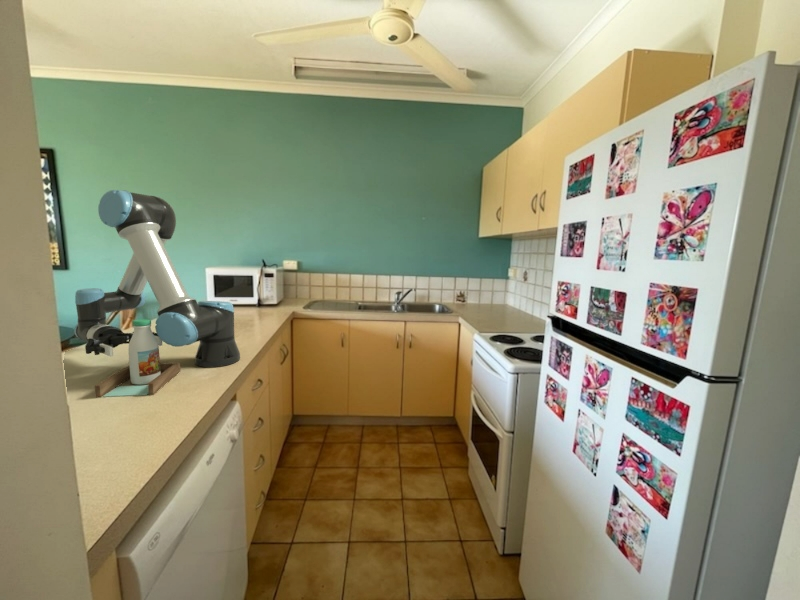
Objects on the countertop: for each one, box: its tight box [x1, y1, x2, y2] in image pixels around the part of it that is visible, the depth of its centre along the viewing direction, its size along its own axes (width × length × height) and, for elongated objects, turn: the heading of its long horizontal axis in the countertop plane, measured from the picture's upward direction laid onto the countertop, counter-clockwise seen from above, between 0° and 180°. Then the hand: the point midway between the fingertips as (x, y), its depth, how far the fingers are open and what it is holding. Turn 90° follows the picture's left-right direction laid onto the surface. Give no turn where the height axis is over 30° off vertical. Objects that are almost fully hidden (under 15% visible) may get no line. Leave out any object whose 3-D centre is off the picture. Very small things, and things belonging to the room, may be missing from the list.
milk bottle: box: [127, 318, 161, 386], centre depth 106 cm, size 8×8×20 cm
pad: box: [102, 384, 149, 398], centre depth 100 cm, size 11×7×1 cm, turn 102°
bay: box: [94, 361, 181, 398], centre depth 105 cm, size 14×18×4 cm
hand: (137, 346), depth 107 cm, fingers open, 13 cm apart
